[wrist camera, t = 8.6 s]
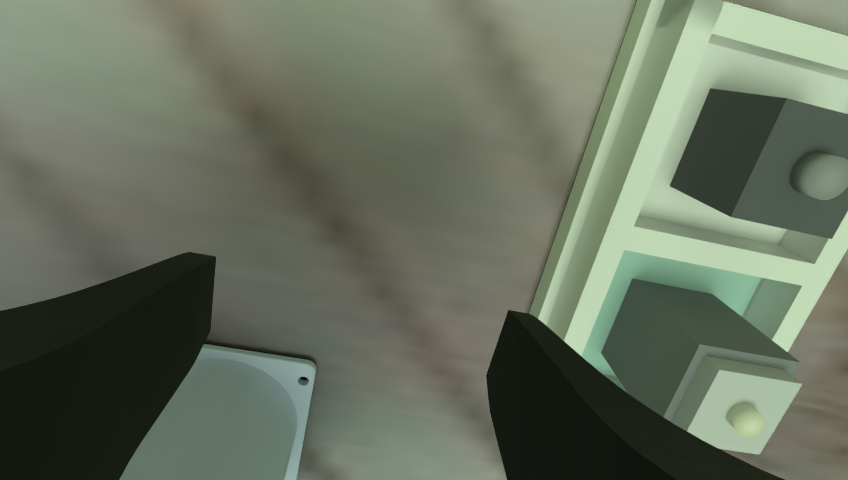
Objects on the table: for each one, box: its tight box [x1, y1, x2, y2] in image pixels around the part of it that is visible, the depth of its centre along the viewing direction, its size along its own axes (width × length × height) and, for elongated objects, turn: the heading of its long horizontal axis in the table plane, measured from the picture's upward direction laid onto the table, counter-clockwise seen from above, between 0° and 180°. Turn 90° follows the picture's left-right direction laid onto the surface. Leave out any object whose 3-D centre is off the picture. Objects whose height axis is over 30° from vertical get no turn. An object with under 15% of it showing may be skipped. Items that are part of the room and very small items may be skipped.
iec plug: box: [601, 278, 802, 455], centre depth 20 cm, size 4×4×7 cm
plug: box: [670, 88, 848, 239], centre depth 18 cm, size 4×4×5 cm
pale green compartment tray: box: [529, 0, 848, 392], centre depth 21 cm, size 17×11×3 cm, turn 167°
